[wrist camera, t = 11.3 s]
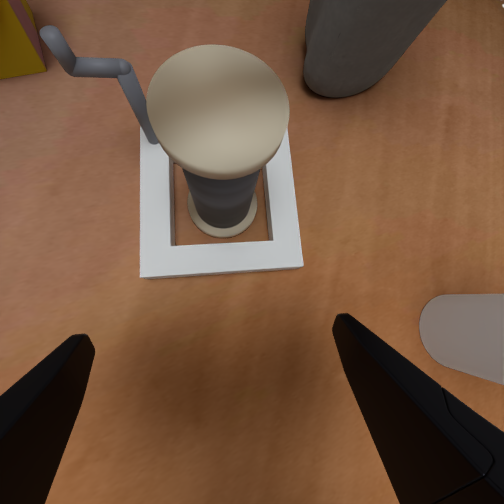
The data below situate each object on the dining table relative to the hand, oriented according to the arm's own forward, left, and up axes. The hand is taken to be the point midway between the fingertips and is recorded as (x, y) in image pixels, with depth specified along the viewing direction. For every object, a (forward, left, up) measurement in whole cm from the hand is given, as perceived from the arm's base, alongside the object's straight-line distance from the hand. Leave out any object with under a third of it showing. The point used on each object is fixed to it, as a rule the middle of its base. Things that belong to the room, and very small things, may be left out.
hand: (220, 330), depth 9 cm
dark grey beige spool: (+10, -2, -14) cm, 17 cm away
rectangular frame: (+10, -1, -13) cm, 17 cm away
